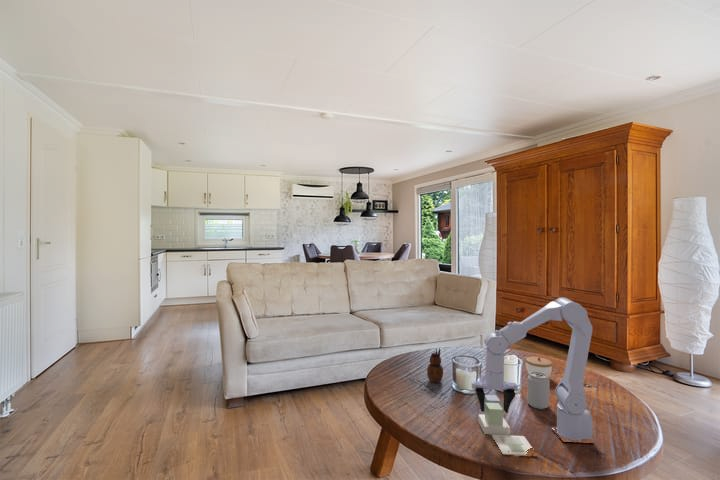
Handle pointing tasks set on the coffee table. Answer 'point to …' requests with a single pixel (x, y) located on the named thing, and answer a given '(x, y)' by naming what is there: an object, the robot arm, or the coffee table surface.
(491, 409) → the sage block
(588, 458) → the coffee table surface
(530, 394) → the can
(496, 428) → the white square slab
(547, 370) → the lidded jar
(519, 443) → the tile
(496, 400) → the slate block
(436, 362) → the wooden figurine
